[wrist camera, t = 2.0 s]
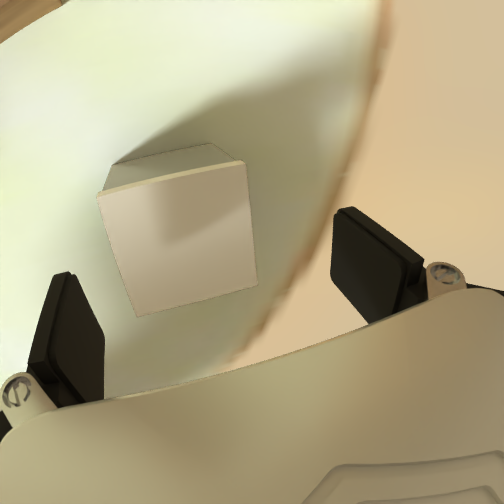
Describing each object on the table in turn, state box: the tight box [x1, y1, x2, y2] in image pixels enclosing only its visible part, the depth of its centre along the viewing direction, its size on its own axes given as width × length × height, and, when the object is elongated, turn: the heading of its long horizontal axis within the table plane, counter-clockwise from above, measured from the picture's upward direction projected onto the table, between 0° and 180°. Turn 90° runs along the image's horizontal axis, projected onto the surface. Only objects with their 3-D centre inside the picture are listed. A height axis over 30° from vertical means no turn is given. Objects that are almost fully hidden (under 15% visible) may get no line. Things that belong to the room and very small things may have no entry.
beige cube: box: [96, 143, 258, 317], centre depth 16 cm, size 6×6×6 cm
